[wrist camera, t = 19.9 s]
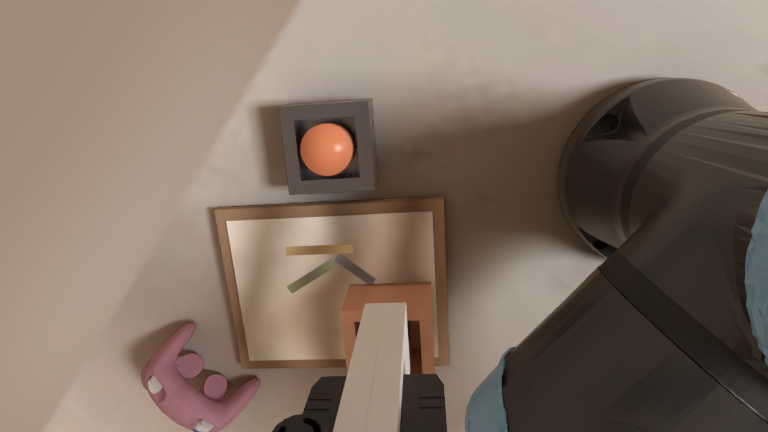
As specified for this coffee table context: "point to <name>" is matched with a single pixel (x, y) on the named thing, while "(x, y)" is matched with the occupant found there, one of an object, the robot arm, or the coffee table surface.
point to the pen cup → (417, 314)
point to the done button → (327, 148)
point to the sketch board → (325, 272)
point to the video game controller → (192, 388)
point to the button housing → (352, 117)
